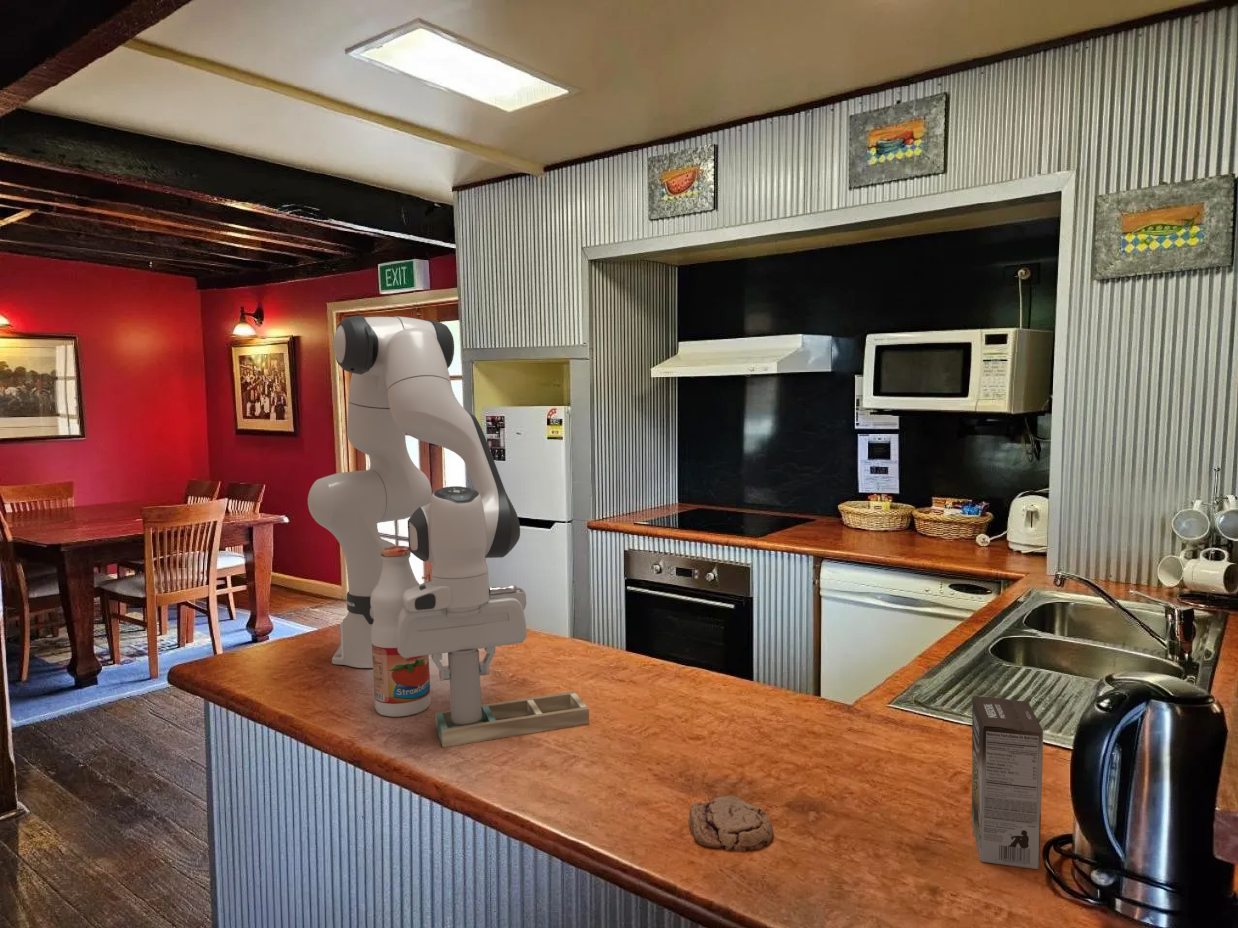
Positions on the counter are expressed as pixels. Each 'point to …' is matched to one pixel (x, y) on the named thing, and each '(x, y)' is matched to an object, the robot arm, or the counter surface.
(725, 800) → the cookie
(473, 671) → the beverage can
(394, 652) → the fruit juice
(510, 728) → the rack
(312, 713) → the counter surface
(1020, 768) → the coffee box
